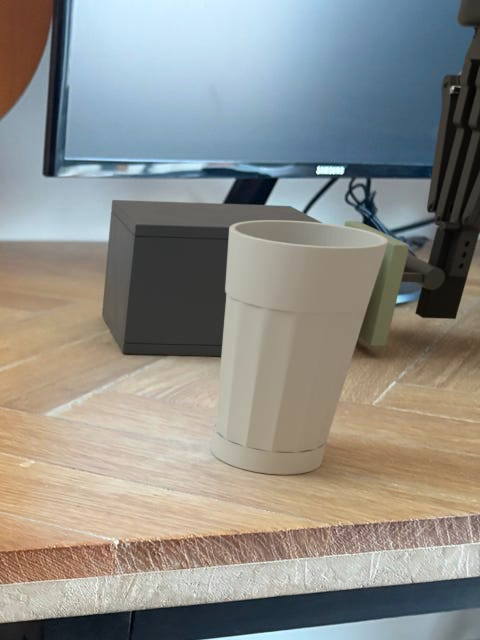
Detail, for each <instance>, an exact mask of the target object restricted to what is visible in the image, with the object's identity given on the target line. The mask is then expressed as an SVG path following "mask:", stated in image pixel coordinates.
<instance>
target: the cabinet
mask: <svg viewBox="0 0 480 640" xmlns="http://www.w3.org/2000/svg"><path fill="white" fill-rule="evenodd" d="M109 219H110V220H109V222H110V223H109V232H108V242H107V254H106V255H107V256H106V266H105V276H104V287H103V297H102V298H103V300H102V312H101V316H102V318H103V320H104V322H105V324H106V326H107V327H108V329H109V330H110V333H111V335H112V336H113V338H114V340H115V342H116V344H117V346H118V348H119V349H120V351H121V353H122V354H124V355H150V356H151V355H154V356H155V355H158V356H200V357H221V355H222V343H223V331H224V319H225V307H226V294H227V293H226V292H225V285H226V270H227V255H228V240H229V228H230V226H231V225H233V224H236V223H240V222H246V221H259V220H286V221H304V222H316V223H323V222H322V221H321V220H318V219H316V218H314V217H312V216H310V215H309V214H306V212H305V213H304V212H302V211H300V210H299V209H298V208H297V209H296V208H295V207H293V206H291V205H277V204H275V205H271V204H244V203H243V204H242V203H241V204H240V203H215V202H214V203H212V202H211V203H210V202H188V201H187V202H184V201H183V202H182V201H157V200H156V201H153V200H129V199H128V200H127V199H125V200H124V199H123V200H122V199H112V201H111V211H110V218H109Z"/></svg>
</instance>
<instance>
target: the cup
mask: <svg viewBox="0 0 480 640" xmlns="http://www.w3.org/2000/svg"><path fill="white" fill-rule="evenodd" d="M387 244H388V240H387V238H385V237H384V236H382V235H379V234H377V233H374V232H370V231H366V230H362V229H357V228H352V227H347V226H344V225H339V224H333V223H324V222H322V223H316V222H304V221H286V220H259V221H246V222H240V223H236V224H233V225H231V226H230V228H229V240H228V255H227V270H226V285H225V292H226V293H227V294H226V307H225V319H224V331H223V343H222V355H221V356H220V367H219V368H220V369H219V381H218V392H217V404H216V405H217V406H216V416H215V417H216V418H215V423H214V426H213V433H212V440H211V445H210V450H211V453H212V454H213V455H214V456H215V457H216V458H217V459H219V460H220V461H222V462H224V463H226V464H228V465H230V466H232V467H235V468H239V469H242V470H245V471H250V472H254V473H260V474H268V475H285V476H286V475H287V476H288V475H300V474H305V473H309V472H312V471H314V470H317V469H318V468H319V467H320V466H321V465H322V463H323V460H324V455H325V450H326V447H327V446H326V445H327V441H328V437H329V435H330V432H331V428H332V425H333V422H334V418H335V415H336V411H337V408H338V404H339V401H340V398H341V395H342V392H343V388H344V385H345V382H346V378H347V375H348V372H349V367H350V365H351V361H352V359H353V356H354V352H355V349H356V345H357V343H358V339H359V333H360V329H361V326H362V323H363V320H364V316H365V313H366V310H367V306H368V304H369V301H370V297H371V294H372V291H373V288H374V285H375V282H376V279H377V275H378V272H379V269H380V266H381V263H382V260H383V257H384V253H385V250H386V247H387Z"/></svg>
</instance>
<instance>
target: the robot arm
mask: <svg viewBox="0 0 480 640" xmlns="http://www.w3.org/2000/svg"><path fill="white" fill-rule="evenodd" d="M456 21H457V24H458V25H459V26H461V27H463V28H473V29H474V33H473V36H472V38H471V41H470V44H469V47H468V48H467V51H466V53H465V57H464V60H463V65H462V69H461V70H460V71H459V73H458V74H448V73H447V74H445V75H444V77H443V79H442V83H441V111H440V118H439V123H438V124H439V125H438V130H437V131H438V132H437V137H436V138H437V139H436V144H435V151H434V158H433V166H432V171H431V177H430V184H429V190H428V196H427V197H428V198H427V206H426V211H427V213H428V214H429V213H430V214H434V225H435V226H437V227H436V230H435V234H434V238H433V242H432V245H431V250H430V253H429V254H430V255H429V258H428V261H427V263H429V264H431V265H433V266H435V267H437V268H439V269H441V270H442V271H443V272H444V275H445V279H444V282H443V284H442V285H441V286H440V287H439V288H437V289H435V290H428V289H426V288H425V287H423V286H421V289H420V293H419V297H418V301H417V305H416V308H415V312H414V314H416V315H417V316H419V317H420V318H423V319H447V320H457V319H456V318H457V316H458V312H459V307H460V304H461V301H462V297H463V293H464V289H465V287H466V282H467V279H468V275H469V273H470V269H471V265H472V261H473V257H474V254H475V250H476V248H477V247H476V246H477V243H478V239H479V236H480V0H460V3H459V7H458V11H457V16H456Z"/></svg>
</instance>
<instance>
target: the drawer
mask: <svg viewBox="0 0 480 640" xmlns="http://www.w3.org/2000/svg"><path fill="white" fill-rule="evenodd" d="M343 226H347V227H352V228H357V229H362V230H366V231H370V232H374V233H377V234H379V235H382V236H384V237H385V238H387V240H388V244H387V247H386V250H385V253H384V257H383V260H382V263H381V266H380V269H379V272H378V275H377V279H376V282H375V285H374V288H373V291H372V294H371V297H370V301H369V304H368V306H367V310H366V313H365V316H364V320H363V323H362V326H361V329H360V333H359V336H358V338H360V339H361V340H363V341H364V342H365V343H366V344H368V345H369V346H371V347H386V346H387V343H388V337H389V334H390V329H391V326H392V321H393V317H394V313H395V309H396V305H397V300H398V296H399V292H400V288H401V284H402V283H414V284H417V285H419V286H421V287H422V286H423V287H425V288H426V289H428V290H435V289H437V288H439V287H440V286H441V285H442V284H443V282H444V279H445V275H444V272H443V271H442V270H441V269H439V268H437V267H435V266H433V265H431V264H429V263H428V261H424V260H423V259H421V258H419V257H417V256H414V255H413V254H411V253H409V250H410V244H408V243H406V242H404V241H401V240H399V239H398V238H395V237H393V236H391V235H389V234H387V233H385V232H382V231H380V230H378V229H376V228H374V227H371V226H369V225H367V224H365V223H363V222H361V221H357V220H345V222H344V224H343Z"/></svg>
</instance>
